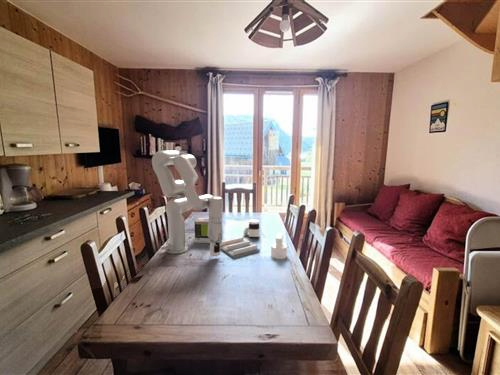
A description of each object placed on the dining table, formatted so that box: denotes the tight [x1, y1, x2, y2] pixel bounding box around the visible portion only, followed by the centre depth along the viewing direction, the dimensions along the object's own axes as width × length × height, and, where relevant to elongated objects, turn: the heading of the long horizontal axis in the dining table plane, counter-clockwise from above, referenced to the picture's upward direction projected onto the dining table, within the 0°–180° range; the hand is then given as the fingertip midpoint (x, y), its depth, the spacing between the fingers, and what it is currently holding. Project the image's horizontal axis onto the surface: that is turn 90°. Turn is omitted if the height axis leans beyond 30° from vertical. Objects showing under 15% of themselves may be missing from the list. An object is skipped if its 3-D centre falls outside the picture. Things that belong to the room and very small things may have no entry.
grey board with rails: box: [220, 236, 261, 260], centre depth 156 cm, size 18×19×4 cm
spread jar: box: [242, 219, 261, 239], centre depth 179 cm, size 12×11×12 cm
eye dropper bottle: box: [209, 241, 221, 257], centre depth 143 cm, size 4×6×12 cm
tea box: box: [193, 217, 210, 244], centre depth 170 cm, size 15×10×15 cm, turn 84°
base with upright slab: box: [270, 232, 288, 260], centre depth 148 cm, size 9×9×12 cm
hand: (215, 250), depth 143 cm, fingers closed on eye dropper bottle, 3 cm apart
